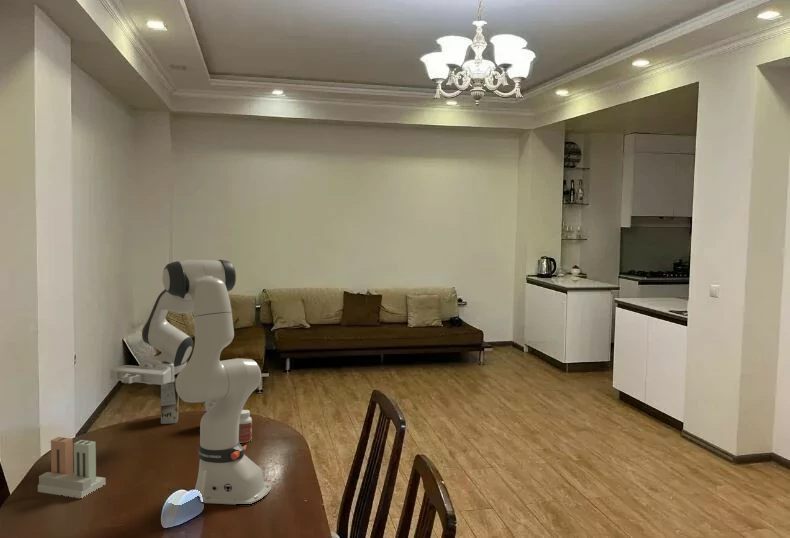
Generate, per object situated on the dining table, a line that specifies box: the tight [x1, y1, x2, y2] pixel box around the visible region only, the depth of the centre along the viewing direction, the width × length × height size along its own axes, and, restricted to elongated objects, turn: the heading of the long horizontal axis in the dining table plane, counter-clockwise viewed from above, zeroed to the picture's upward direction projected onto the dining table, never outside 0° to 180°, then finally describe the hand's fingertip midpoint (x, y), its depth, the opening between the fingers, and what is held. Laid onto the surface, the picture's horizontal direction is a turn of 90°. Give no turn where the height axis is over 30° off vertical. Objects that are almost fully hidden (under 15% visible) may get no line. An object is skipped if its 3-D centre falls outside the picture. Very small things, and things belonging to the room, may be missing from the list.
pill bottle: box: [239, 409, 253, 443], centre depth 226 cm, size 6×6×11 cm
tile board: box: [37, 471, 107, 499], centre depth 185 cm, size 15×10×4 cm, turn 76°
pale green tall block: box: [73, 439, 97, 484], centre depth 184 cm, size 5×3×12 cm, turn 76°
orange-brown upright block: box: [50, 436, 74, 476], centre depth 186 cm, size 5×3×12 cm, turn 76°
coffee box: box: [160, 376, 180, 425], centre depth 247 cm, size 9×6×16 cm
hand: (125, 380), depth 201 cm, fingers closed
